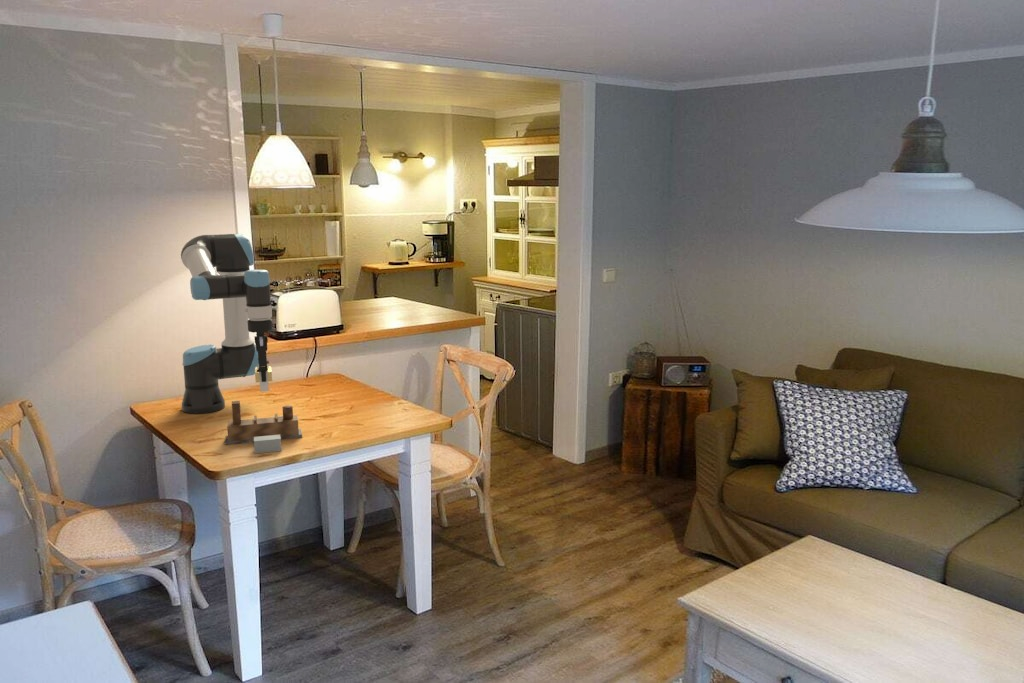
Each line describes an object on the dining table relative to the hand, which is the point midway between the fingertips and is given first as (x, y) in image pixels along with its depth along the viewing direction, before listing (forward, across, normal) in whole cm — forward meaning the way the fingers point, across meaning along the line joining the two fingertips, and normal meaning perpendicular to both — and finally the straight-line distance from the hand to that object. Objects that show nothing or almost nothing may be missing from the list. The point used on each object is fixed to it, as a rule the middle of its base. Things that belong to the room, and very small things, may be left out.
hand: (264, 387), depth 246 cm
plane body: (+18, -3, -1) cm, 18 cm away
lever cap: (-3, 0, 0) cm, 3 cm away
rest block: (+18, +9, 0) cm, 20 cm away
